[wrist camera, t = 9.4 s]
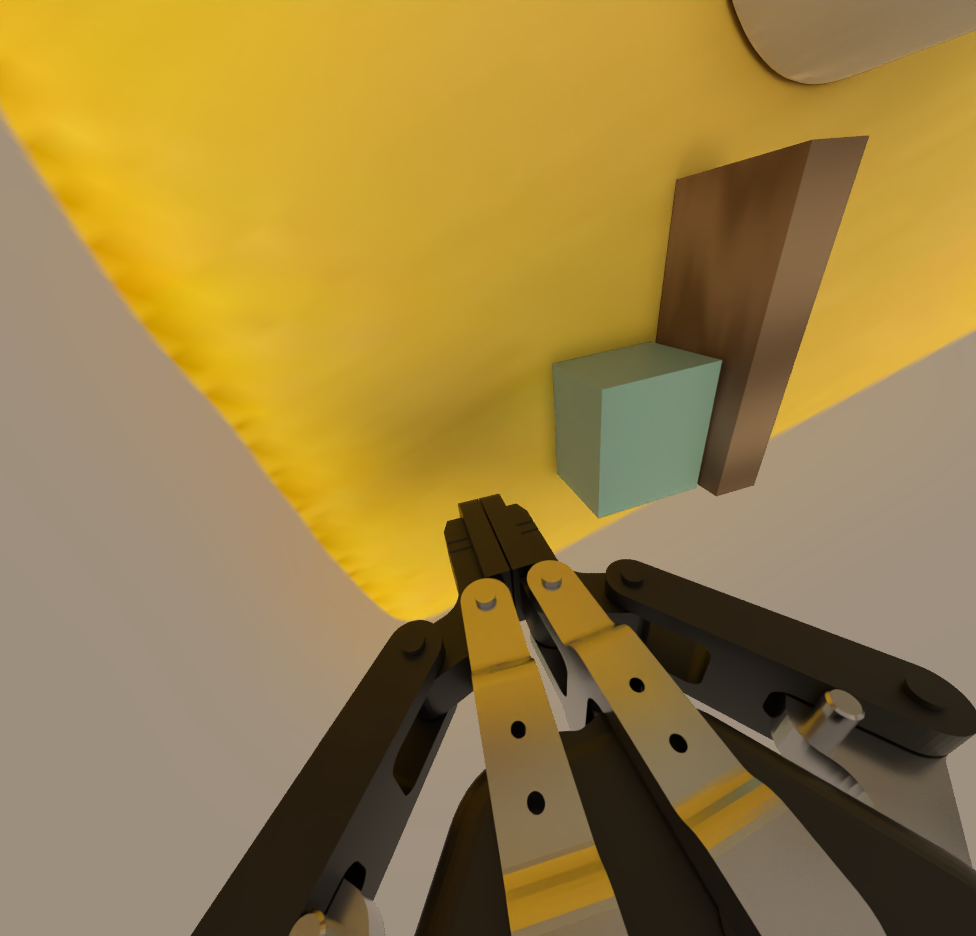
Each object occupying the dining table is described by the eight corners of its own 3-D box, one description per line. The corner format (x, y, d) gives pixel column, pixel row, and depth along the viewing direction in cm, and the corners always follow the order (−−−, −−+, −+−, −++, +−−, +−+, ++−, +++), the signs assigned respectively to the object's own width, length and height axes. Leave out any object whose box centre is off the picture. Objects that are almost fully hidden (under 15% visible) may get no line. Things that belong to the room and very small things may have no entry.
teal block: (551, 363, 19) (602, 389, 15) (649, 341, 20) (722, 360, 16) (556, 472, 23) (598, 518, 19) (638, 449, 24) (696, 487, 20)
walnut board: (676, 179, 16) (812, 139, 11) (720, 175, 17) (869, 135, 12) (642, 448, 24) (716, 496, 19) (673, 440, 24) (753, 485, 19)
